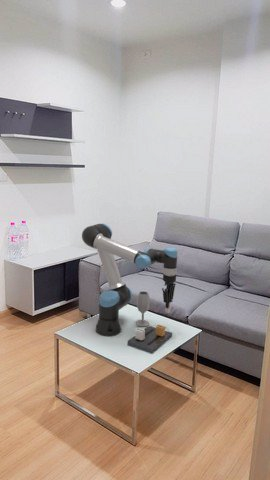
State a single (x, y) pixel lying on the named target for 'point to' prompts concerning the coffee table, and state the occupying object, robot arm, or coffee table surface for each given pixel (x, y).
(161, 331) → the block
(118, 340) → the coffee table surface
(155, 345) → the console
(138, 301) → the wineglass
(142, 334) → the fader
